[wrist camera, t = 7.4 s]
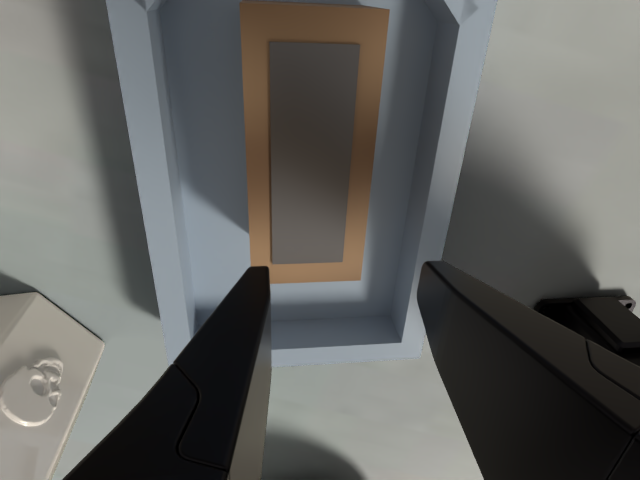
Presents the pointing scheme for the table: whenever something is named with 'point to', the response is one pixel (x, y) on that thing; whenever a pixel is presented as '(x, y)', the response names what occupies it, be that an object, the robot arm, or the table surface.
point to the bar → (310, 134)
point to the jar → (40, 383)
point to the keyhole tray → (231, 174)
